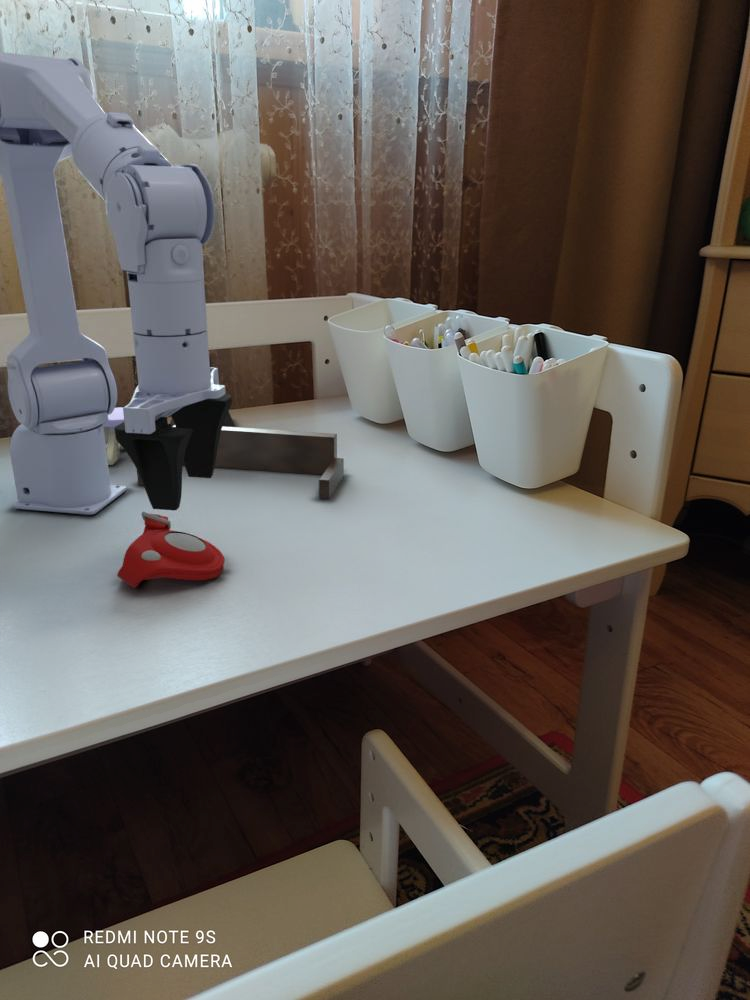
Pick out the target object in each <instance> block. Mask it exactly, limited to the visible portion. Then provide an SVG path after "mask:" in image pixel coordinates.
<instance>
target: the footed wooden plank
mask: <svg viewBox="0 0 750 1000" xmlns="http://www.w3.org/2000/svg"><path fill="white" fill-rule="evenodd" d="M172 428H176V426H175V425H174V426H173V427H172ZM344 465H345V461H344V458H343V457H338V433H332V432H317V431H316V432H314V431H301V430H300V431H299V430H285V429H271V428H270V429H268V428H256V427H255V428H254V427H239V426H238V427H237V426H235V427H223V426H222V429H221V433H220V437H219V443H218V449H217V455H216V462H215V467H214V468H223V469H237V470H249V471H265V472H279V473H293V474H305V475H306V474H307V475H320V477H319V478H318V499H319V500H326V501H327V500H330V499H331V498H332V497H333V494H334V493H335V491H336V489H337V488H338V486H339V485H340V483H341V481H342V480H343V478H344V476H345V475H344V474H345V472H344V471H345V468H344V467H345V466H344ZM183 466H185V464H184V460H183ZM136 475H137V484H138V486H144V485H143V482H142V480H141V478H140V475H139V473H138V471H137V470H136Z"/></svg>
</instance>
